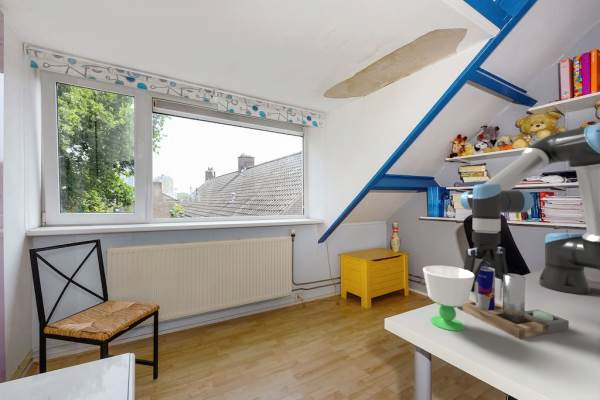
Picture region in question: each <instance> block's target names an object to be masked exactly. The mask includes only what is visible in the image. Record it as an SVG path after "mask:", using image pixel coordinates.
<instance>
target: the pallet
mask: <svg viewBox="0 0 600 400" xmlns="http://www.w3.org/2000/svg"><path fill="white" fill-rule="evenodd" d="M456 308H457V309H458V310H461V311H463V312H465V313H467V314H469V316H470V315H471V316H472V317H474V318H477V319H479V320H480V321H483V322H485V323H487V324H489V325H491V326H493V327H495V328H497V329H499V330H501V331H503V332H505V333H507V334H509V335H511V336H512V337H515V338H517V339H519V340H520V339H524V338H529V337H530V338H531V337H535V336H540V335H547V334H550V333H549V324H547V323H544V322H542V321H539V320H537V319H534V318H532V317H529V316H527V315H525V323H523V324H515V323H512V322H510V321H508V320H506V319H503V304H499V303H497V302H495V310H490V311H486V310H483V309H481V308H479V307H477V306H476V303H475V302H473V301H471V300H469V301H468V302H467V303H466V304H465V305H464V306H461V307H456Z"/></svg>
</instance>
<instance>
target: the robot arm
mask: <svg viewBox="0 0 600 400" xmlns="http://www.w3.org/2000/svg"><path fill="white" fill-rule="evenodd" d="M562 162H564V163H565V162H568V165H569V168H570V169H572V170H575V173H576V177H577V183H578V188H579V189H578V190H579V193H580V200H581V205H582V212H583V217H584V223H585V228H586V232H585V233H584V232H551V233H550V232H549V233H547V234H546V235H545V240H544V241H545V242H544V253H545V254H544V268H543V270H542V272H541V274H540V276H539V279H538V280H539V282H538V283H539V285H540V286H543V287H544V288H546V289H550V290H554V291H558V292H564V293H570V294H577V295H578V294H579V295H581V294H583V295H585V294H586V295H587V294H590V293H591V286H590V285H591V284H590V282H589V280H588V278H587V276H586V274H585V268H587V269H592V270H597V271H600V123H598V124H591V125H586V126H582V127H578V128H573V129H568V130H563V131H558V132H557V131H556V132H554V133H551V134H549V135H547V136H544V137H543V138H541V139H539V140H538V141H536V142H534V143H533V144H531V145H530V146H528V147H527V148H525V149H524V150H522V152H521V154H520V156H519V157H518V158H516V160H514V161H512V162H511V163H510V164H509V165H508V166H506V167H504V169H502V170H500V171H499V172H498V173H496V174H495V175H494V176H492V177H491V178H489V179H488V180H487V181H486V182H484V183H481V184H480V183H479V184H475V185H474V186H473V188H472V190H469V191H468V190H467V191H465V192H463V193H462V194H461V195H460V198H459V201H460V205H461V207H463V209H465V210H469V211H472V230H473V231H472V233H471V241H472V242H473V244H474V245H473V248H468V247H467V248H465V255H466V256H465V261H464V266H463V269H464V270H468V271H470V272H472V273H473V274H474V275H475V278H474V282H473V285H472V289H471V293H470V297H469V300H471V301H473V302H475V303H478V282H476V279H477V277H478V275H479V272H480V270H481V267H482V266H483V264H485V263H486V262H487V261H488V264H489V267H490V268H493V269H495V299H498V300H500V301H503V274H505V273H509V272H508V271H509V270H508V265H507V260H506V259H507V258H506V247H501V246H498V245H501V233H500V232H501V230H502V229H501V226H502V225H501V222H502V221H501V218H502V217H501V215H502V213H504V214H505V213H507V214H509V213H511V214H520V213H527V212H528V211H530V210H531V209H532V208H533V206H534V197H533V195H532V194H531V193H530V192H529V191H526V190H520V189H513V188H515V187H516V186H518V184H521V182H523V181H525V179H527V178H528V177H529V176H531V175H532V174H533V173H535V172H536V171H537V170H542V169H544V168H546V167H547V166H549V165H553V164H556V163H557V164H558V163H562Z"/></svg>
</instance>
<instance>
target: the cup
mask: <svg viewBox="0 0 600 400" xmlns="http://www.w3.org/2000/svg"><path fill="white" fill-rule="evenodd" d="M422 271H423V276H424V282H425V286H426V290H427V296H428V297H429V299H430V300H431V301H433V302H434V303H435V304H437V305H440V306H439V308H438V313H439V315H435V316H432V317H431V318H430V322H431V323H432V325H434V326H435V327H438V328H440V329H443V330H447V331H451V332H459V331H463V330H464V329H465V328H466V327H465V324H464V323H463V322H462V321H460V320H458V319H456V317H457V312H456V309H455V308H457V307H461V306H464V305H465V304H466V303H467V302H468V301H469V297H470V293H471V289H472V285H473V282H474V278H475V275H474V274H473V273H472V272H470V271H468V270H464V268H461V267H456V266H450V265H449V266H448V265H428V266H424V267H423V268H422Z"/></svg>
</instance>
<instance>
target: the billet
mask: <svg viewBox="0 0 600 400" xmlns="http://www.w3.org/2000/svg"><path fill="white" fill-rule="evenodd" d="M525 302H526V276H524V275H520V274H517V273H511V272H510V273H509V272H508V273H505V274H503V284H502V306H503V319H506V320H508V321H510V322H512V323H515V324H523V323H525V311H526V309H525V308H526V307H525V306H526V303H525Z"/></svg>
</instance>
